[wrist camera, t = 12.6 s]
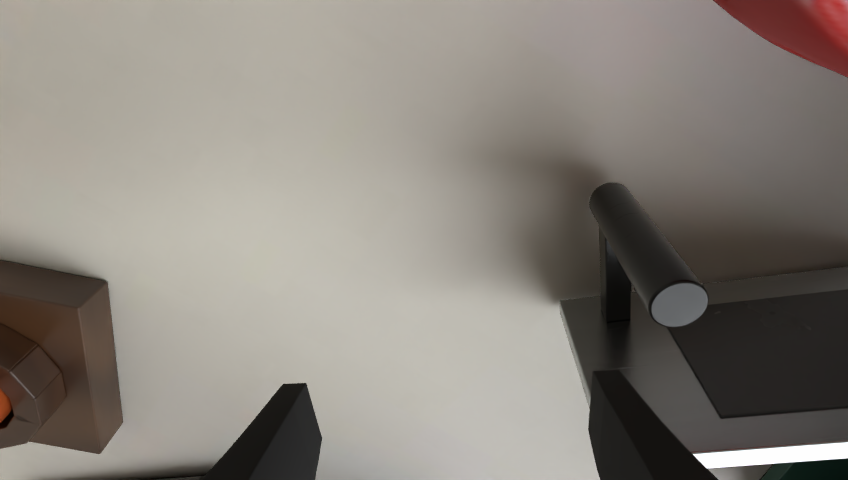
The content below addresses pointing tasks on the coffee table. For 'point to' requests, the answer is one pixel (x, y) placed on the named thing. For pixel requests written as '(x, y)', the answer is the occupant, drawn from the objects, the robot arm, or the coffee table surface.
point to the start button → (4, 406)
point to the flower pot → (799, 27)
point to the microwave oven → (809, 470)
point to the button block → (57, 359)
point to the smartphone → (185, 479)
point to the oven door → (716, 345)
